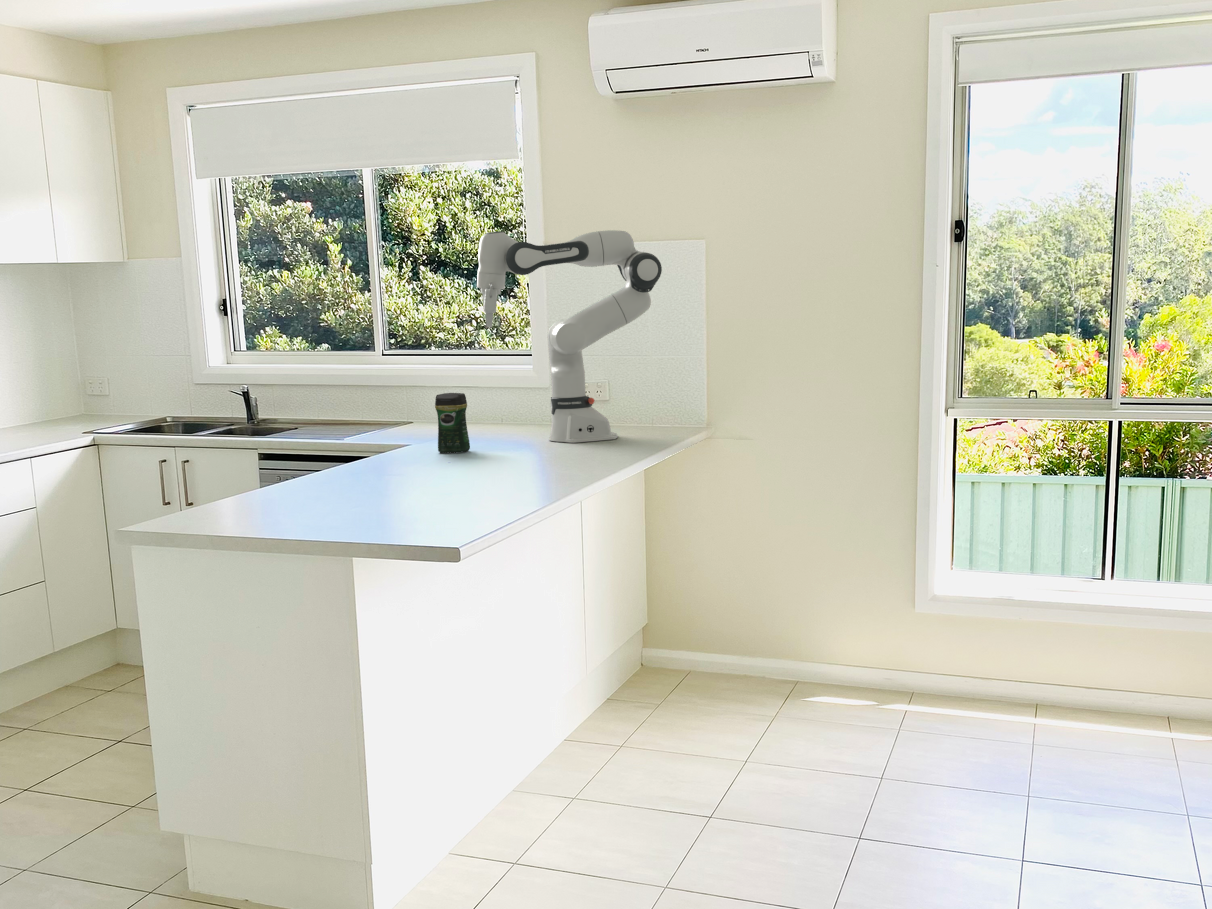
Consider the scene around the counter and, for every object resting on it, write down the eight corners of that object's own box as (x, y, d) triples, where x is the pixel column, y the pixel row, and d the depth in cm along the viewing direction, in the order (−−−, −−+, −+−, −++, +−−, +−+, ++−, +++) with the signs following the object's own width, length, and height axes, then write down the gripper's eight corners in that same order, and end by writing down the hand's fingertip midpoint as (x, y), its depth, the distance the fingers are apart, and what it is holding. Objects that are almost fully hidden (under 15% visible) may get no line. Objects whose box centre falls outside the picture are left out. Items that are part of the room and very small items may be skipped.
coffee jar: (473, 450, 344) (469, 391, 341) (463, 454, 336) (460, 393, 334) (444, 450, 346) (441, 391, 344) (434, 454, 339) (430, 394, 336)
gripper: (501, 283, 337) (499, 328, 339) (500, 284, 357) (498, 326, 359) (481, 282, 336) (479, 327, 338) (480, 282, 357) (478, 325, 358)
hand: (488, 327), depth 349 cm, fingers open, 8 cm apart
